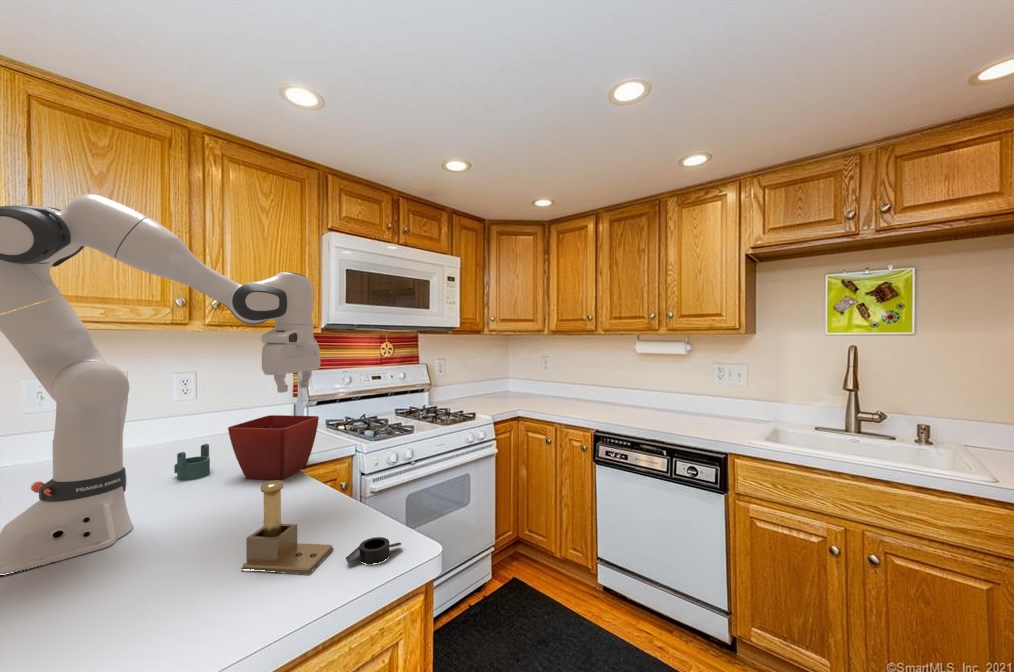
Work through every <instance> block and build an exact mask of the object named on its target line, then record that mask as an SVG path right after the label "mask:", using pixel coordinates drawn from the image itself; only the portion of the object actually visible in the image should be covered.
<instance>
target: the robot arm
mask: <svg viewBox="0 0 1014 672" xmlns="http://www.w3.org/2000/svg"><path fill="white" fill-rule="evenodd" d="M85 247H87V248H90V249H93V250H96V251H98V252H100V253H103V254H105V255H107V256H108V257H110V258H113V259H114V260H116V261H119V262H120V263H123V264H124V265H127V266H129V267H131V268H132V267H133V268H134V269H137V270H140V271H142V272H144V273H148V274H151V275H154V276H156V277H161V278H164V279H168V280H170V281H173V282H177V283H180V284H182V285H185V286H188V287H190V288H192V289H193V290H195V291H197V292H200V293H202V294H203V295H205V296H207V297H209V298H211V299H214V301H217V302H219V303H221V304H222V305H224V306H225V307H226V308H227V309H228V310H229V312H230V313H231V314H232V315H233V316H234V317H235V318H236V319H237V320H238V321H239V322H241V323H243V324H246V325H251V326H252V325H253V326H256V325H258V326H259V325H262V324H264V323H266V322H267V321H269V320H273V321H274V324H275V325H274V328H272V329H271V330H269V331H267V332H265V333H263V334H262V335H261V337H260V338H261V343H263V346H262V349H261V370H262V372H263V374H264V375H265V376H266V375H267V376H273V379H274V382H275V384H276V386H277V389H276V390H277V393H286V392H288V391H289V390H288V387H289V385H288V384H286V381H285V379H286V377H287V376H286V374H294V373H301V375H302V376H301V380H299V388H301V389H306V388H309V386H310V380H311V377H312V375H313V374H312V373H313V371H314V370H315V371H316V370H320V367H321V349H320V345H319V343H318V341H317V340H316V338H315V336H314V321H313V312H314V307H315V305H314V300H315V299H314V289H313V284H312V281H311V280H310V279H309V277H307V276H305V275H303V274H300V273H297V272H291V271H281V272H279V273H277V274H276V275H273V276H271V277H268V278H266V279H262V280H259V281H258V280H257V281H253V282H248V283H244V284H241V283H238V282H236V281H234V280H232V279H230V277H229V278H228V277H227V276H225V275H224V274H221V273H220V272H219V271H216V270H214V269H213V268H211V267H209V266H207V265H206V264H205V263H203V262H202V261H201V260H200V259H199V258H197V256H196V255H194V253H192V251H191V250H190V249H189V248H188V246H187V245H186V244H185V242H183V239H181V238H180V237H178V236H177V235H176V234H175V233H174V232H173V231H171V230H169V229H168V228H167V227H165V226H164V225H163V224H160V223H159V222H158V221H156V220H154V219H153V218H150V217H149V216H147V215H145V214H143V213H140V212H139V211H137V210H136V209H133V208H131V207H129V206H127V205H124V204H122V203H120V202H118V201H116V200H112V199H110V198H108V197H105V196H102V195H99V194H94V193H87V194H86V193H85V194H82V195H79V196H77V197H75V198H73V199H72V200H71V201H70V202H68V204H67V205H66V206H65V207H64V208H63V209H59V208H56V207H51V206H49V207H47V206H42V205H41V206H40V205H35V204H33V205H32V204H23V205H1V206H0V332H1V333H2V334H3V335H4V337H5V338H6V339H7V340H8V342H9V343H10V344H11V346H12V347H13V348H14V349H15V350H16V352H17V353H18V354H19V356H20V357H21V358H22V360H23V362H25V364H26V365H27V367H28V369H30V370H31V372H32V373H33V375H34V376H35V378H36V379H37V380H38V382H39V383H40V384H41V386H42V387H43V388H44V390H45V391H46V392H47V393H48V395H49V396H50V398H51V399H52V400H53V401H55V402H56V409H55V410H56V411H55V422H54V423H55V424H54V431H53V440H52V478H51V479H50V480H49V481H46V482H45V483H44V482H42V481H35V482H33V483H32V484H31V485H30V491H32V492H34V493H36V494H38V499H39V500H38V501H37V502H35V503H33V504H32V505H31V506H29V507H28V508H27V509H26V510H24V511H23V512H22V513H20V514H18V515H17V516H16V517H15V518H13V519H12V520H10V521H9V522H8V523H6V524H5V525H4V526H3V527H2V529H1V530H0V574H6V573H11V572H16V571H20V572H22V571H21V570H24V571H26V570H25V569H27V570H30V568H31V569H33V568H34V567H35V568H37V566H38V567H42V566H45V565H47V564H51V563H52V562H53V563H56V562H60V561H63V560H67V559H70V558H73V557H77V556H80V555H85V554H87V553H92V552H95V551H98V550H103V549H105V548H108V547H110V546H112V545H114V543H116V541H118V539H120V538H122V537H123V536H125V535H127V534H128V533H129V532H131V531H132V529H133V528H134V524H133V522H132V521H131V518H130V514H129V511H128V508H127V503H126V502H127V501H126V495H125V492H126V489H127V472H126V468H125V466H124V449H123V448H124V446H123V445H124V428H125V422H126V417H127V409H128V401H129V399H128V398H129V393H130V382H129V378H128V377H127V375H126V374H125V372H123V371H122V370H121V369H120V368H118V367H117V366H115V365H112V364H109V363H107V362H106V360H105V359H104V358H103V356H102V354H101V352H100V351H99V349H98V347H97V346H96V344H95V343H94V340H93V339H92V337H91V335H90V333H89V330H88V328H87V327H86V325H85V324H84V323H83V321H82V320H81V319H80V317H79V316H78V314H77V313H76V311H75V310H74V308H73V307H72V305H70V303H69V301H68V300H67V299H66V297H65V296H63V293H62V291H61V290H60V289H59V287H57V285H56V284H55V282H54V280H53V279H52V276H51V268H52V267H53V268H54V267H55V268H56V267H58V266H60V265H61V264H63V263H64V262H67V260H69V259H71V258H73V257H75V256H77V255H78V254H79V253H81V251H82V250H83V249H84V248H85ZM41 565H42V566H41Z"/></svg>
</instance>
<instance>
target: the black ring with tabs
mask: <svg viewBox="0 0 1014 672" xmlns="http://www.w3.org/2000/svg"><path fill="white" fill-rule="evenodd" d="M400 546H402V543H401V542H399V541H398V542H395V543H391V544H390V540H389V539H388V538H386V537H383V536H380V537H378V536H377V537H376V536H375V537H371V538H367V539H365V540H363V541H362V542H360V544H359V546H358V547H357V548H355V549H354V550H353V551H351V552H350V553H349V555H347V556H346V557H345V560H346V562H347V564H352V563H353V562H357V561H359V562H360V561H361V562H363V563H366V564H373V563H379V562H382V561H384V560H385V559H387V558H388V556H389V557H390V548H395V547H400ZM388 559H389V558H388ZM388 559H387V560H388ZM361 562H360V563H361ZM384 562H385V561H384ZM382 563H383V562H382Z"/></svg>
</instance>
